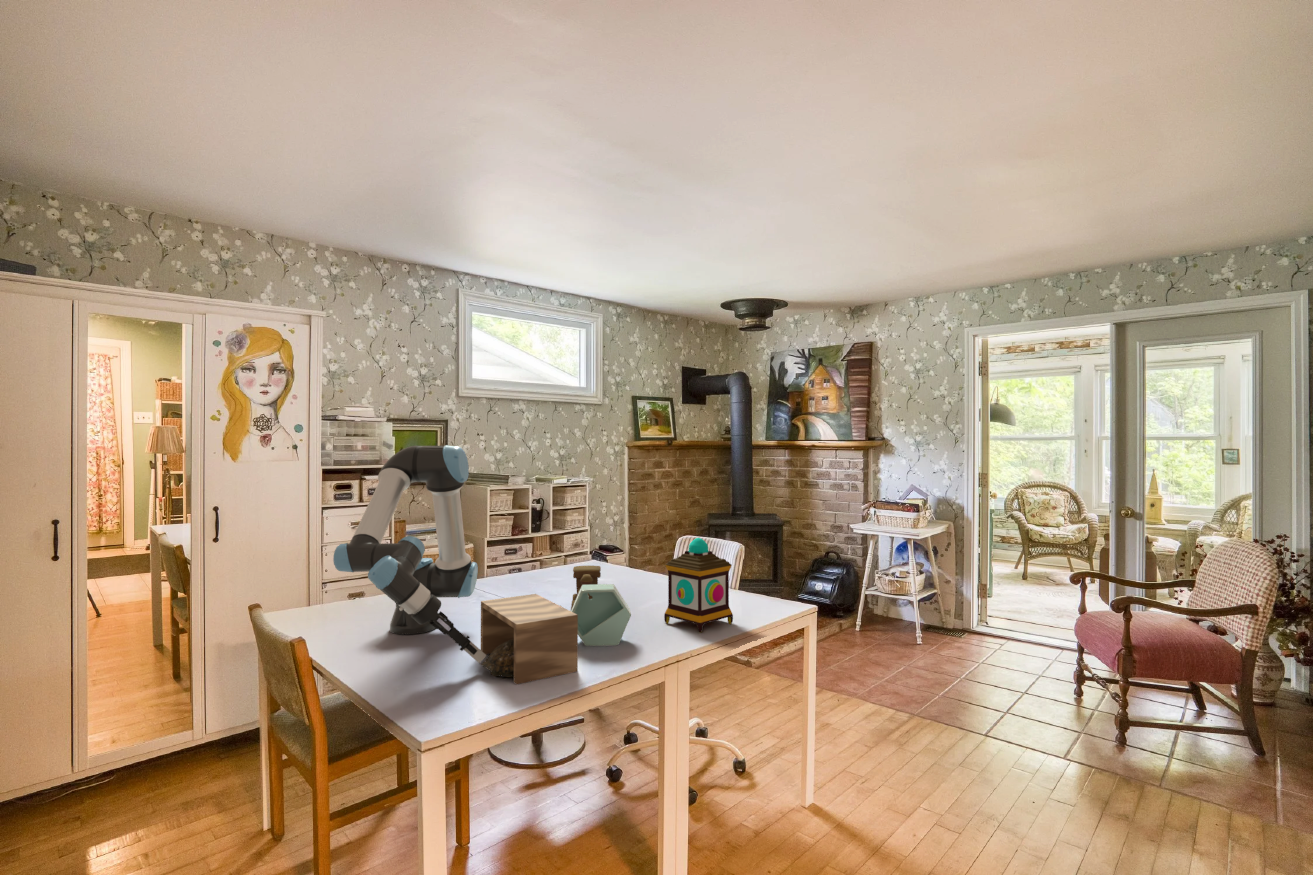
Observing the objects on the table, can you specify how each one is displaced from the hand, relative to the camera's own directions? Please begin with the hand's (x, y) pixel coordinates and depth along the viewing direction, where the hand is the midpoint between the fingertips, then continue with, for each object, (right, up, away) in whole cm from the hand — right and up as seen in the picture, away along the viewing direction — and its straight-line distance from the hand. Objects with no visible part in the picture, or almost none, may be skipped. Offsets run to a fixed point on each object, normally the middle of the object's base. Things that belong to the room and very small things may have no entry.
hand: (482, 658), depth 172 cm
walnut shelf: (+10, -4, +7) cm, 13 cm away
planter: (+30, -4, +26) cm, 40 cm away
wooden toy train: (+22, -5, +58) cm, 62 cm away
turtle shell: (+8, -4, +2) cm, 9 cm away
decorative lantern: (+63, -5, +47) cm, 79 cm away
